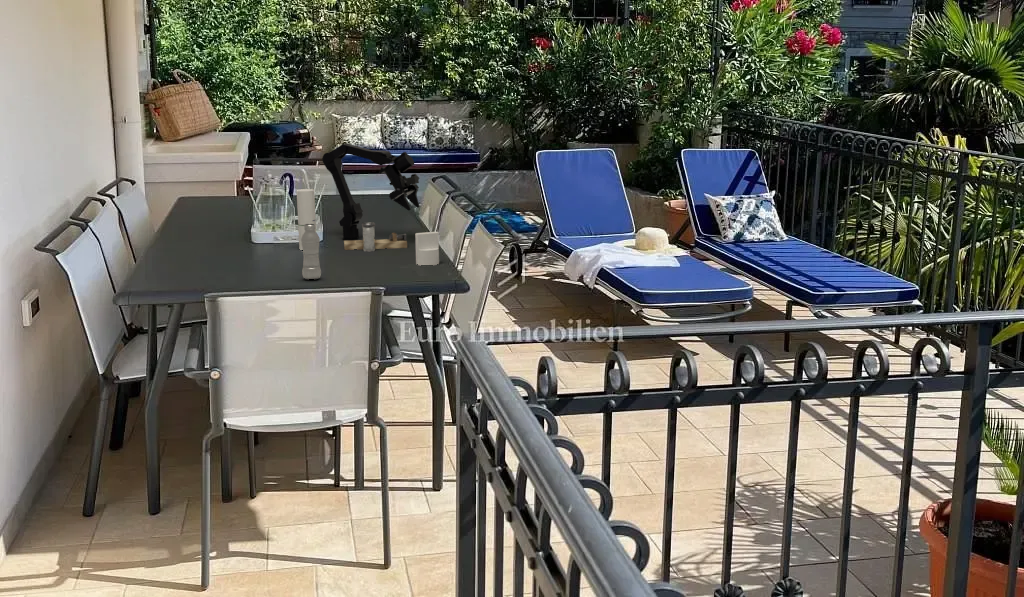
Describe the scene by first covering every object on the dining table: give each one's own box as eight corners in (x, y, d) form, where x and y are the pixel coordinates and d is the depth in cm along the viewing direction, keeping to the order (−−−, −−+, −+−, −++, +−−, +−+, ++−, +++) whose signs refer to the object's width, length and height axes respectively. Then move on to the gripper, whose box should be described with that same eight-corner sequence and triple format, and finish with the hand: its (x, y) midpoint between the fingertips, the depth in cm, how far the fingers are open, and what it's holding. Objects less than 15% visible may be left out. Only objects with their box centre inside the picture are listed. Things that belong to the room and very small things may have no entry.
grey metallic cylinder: (363, 251, 418) (362, 224, 415) (362, 249, 423) (361, 222, 420) (376, 251, 419) (375, 223, 416) (375, 249, 424) (374, 222, 421)
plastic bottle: (303, 277, 368) (300, 223, 363) (322, 277, 368) (320, 223, 364) (301, 281, 362) (298, 226, 357) (320, 281, 362) (318, 225, 357)
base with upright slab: (421, 266, 388) (420, 235, 385) (412, 262, 396) (411, 232, 393) (442, 264, 392) (442, 233, 389) (433, 260, 400) (433, 230, 397)
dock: (344, 249, 422) (344, 236, 421) (344, 246, 430) (343, 233, 428) (407, 247, 427) (406, 234, 425) (405, 244, 434) (405, 231, 433)
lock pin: (389, 241, 427) (389, 235, 427) (389, 240, 430) (389, 234, 429) (406, 240, 429) (406, 234, 428) (406, 239, 431) (405, 233, 431)
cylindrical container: (320, 249, 424) (317, 189, 418) (310, 252, 417) (307, 191, 412) (306, 247, 427) (303, 188, 421) (295, 250, 420) (292, 190, 415)
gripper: (400, 169, 423) (419, 202, 423) (418, 165, 440) (436, 196, 441) (380, 183, 427) (399, 215, 428) (399, 178, 445) (417, 209, 445)
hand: (414, 208), depth 435 cm, fingers open, 9 cm apart
